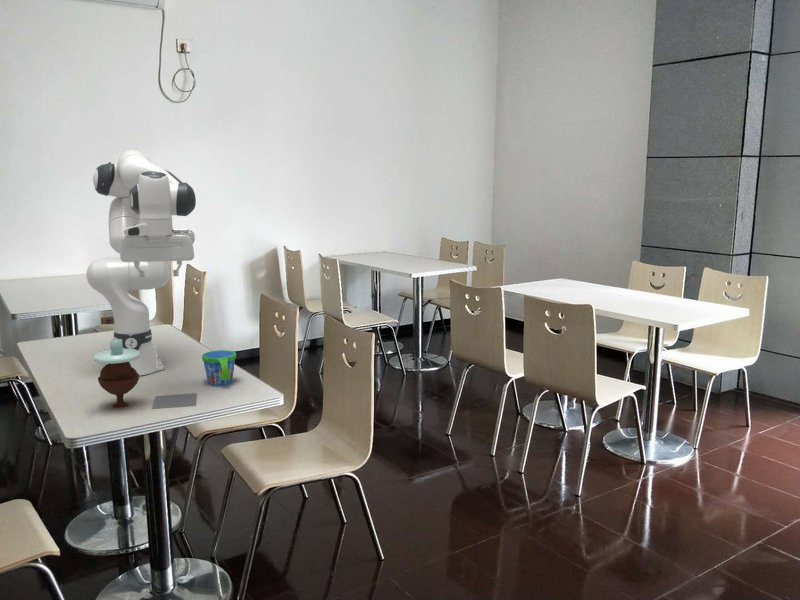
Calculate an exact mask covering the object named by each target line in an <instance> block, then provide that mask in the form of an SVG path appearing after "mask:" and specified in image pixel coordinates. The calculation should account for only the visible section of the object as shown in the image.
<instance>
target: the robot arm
mask: <svg viewBox="0 0 800 600" xmlns="http://www.w3.org/2000/svg"><path fill="white" fill-rule="evenodd" d="M118 157H119V158H118V160H117V164H115V163H112V161H109V162H107V163H104V164H100V165H99V166H98V167H96V169H95V171H94V173H93V175H92V183H93V187H94V189H95V191H96V192H97V194H100V195H102V196H105V197H108V196H110V197H113V198H114V199H113V200H112V201H111V203H110V204H109V205H110V206H109V212H108V236H109V237H108V238H109V242H108V243H109V245H110V247H111V248H112V250H114V252H116V253H118V254H119V257H110V258H109V257H105V258H101V259H97V260H93V261H92V262H90V264H89V266H88V267H87V269H86V279H87V282H88V284H89V286H90V287H91V288H92V289H93V290H95V291H96V292H98V293H99V294H101V296H103V297H104V299H106V300H107V302H108V303H109V305H110V308H111V311H112V316H113V323H114V331H113V339H122V346H123V349H135V350H138V351H139V353H140V357H139V358H138V359H136V360H133V361H129V363H130V364H131V367H132V368H134V369H135V370H136V372H137V373H138V374H139V377H140V376H144V375H149V374H153V373H155V372H159V371H160V372H161V371H163V370H165V366H164V364H163V362H162V360H161V358H160V357H159V354H157V353H158V351H157V346H156V344H154V343H153V341H152V340H153V338H152V337H153V333H152V329H151V325H150V311H149V308H148V305H146V304H145V303H144V302H142V301H140V300H138V299H135V298H133V297H131V296H130V295H129V294H128V292H130V291H143V290H146V291H147V290H154V289H157V288H162V287H165V286H166V285H167V284H168V282H169V280H170V276H171V271H170V267H169V265H168V262H176V265H178V266H177V268H176V269H173V270H172V273H173V274H172V276H173V277H179V276H180V274H179V270H180V269H181V267H182V265H183V262H184V261H186V262H187V261H192V260H194V259H195V250H194V243H195V239H196V238H195V232H194V231H193V230H190V229H189V228H174V227H173V216H177V217H187V216H189V215H190V214H191V213H192V212H193V211H194V210H195V208H196V201H197V199H196V194H195V193H196V192H195V191H194V188H193V187H192V186H191V185H190V184H189V183H187V182H183V181H181V179H179V178H178V177H177V176H175V174H173V173H172V172H170V170H167V169H165V168H162V167H160V166H159V165H156V164H155V163H153V162H152V161H151V160H150V159H149V157H148V156H147V155H145V154H144V153H143V152H141V151H140V150H136V149H128V150H125V151H124V152H122V153H121V154H120V156H118Z"/></svg>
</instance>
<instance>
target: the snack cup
mask: <svg viewBox="0 0 800 600" xmlns="http://www.w3.org/2000/svg"><path fill="white" fill-rule="evenodd" d="M236 358H237V353H236V352H235V351H233V350H225V349H224V350H223V349H222V350H221V349H217V350H211V351H207V352H204V353H203V354H202V355H201V359H202V362H203V365H204V366H203V367H204V370H205V374H206V381H207V384H208V385H209V386H213V387H221V386H226V385H230V384H232V383H233V381H234V373H235V372H234V371H235V361H236Z"/></svg>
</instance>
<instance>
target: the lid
mask: <svg viewBox="0 0 800 600" xmlns="http://www.w3.org/2000/svg"><path fill="white" fill-rule="evenodd" d="M109 346H110V349H107V350H103V351H98V352H95V354H94V355H93V361H94V362H95V363H97V364H98V363H99V364H105V365H107V364H114V363H124V362H129V361H133V360H136V359H138V358H139V357H140V353H139V351H138V350H135V349H123V346H122V339H114V338H113V339H110V340H109Z"/></svg>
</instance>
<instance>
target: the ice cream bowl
mask: <svg viewBox="0 0 800 600" xmlns="http://www.w3.org/2000/svg"><path fill="white" fill-rule="evenodd" d="M139 378H140V376H139V374H138V373H137V372H136V370H135V369H134V368H132V367H131V364H130V363H129V362H124V363H114V364H105V365H104V366H103V367H102V368H101V370H100V373H99V376H98V377H97V380H98V384H99V385H100V387H101V388H102V389H103V390H104V391H105V392H107V393H109V394H111V395H114V396H116V402H115V403H114V404H112V405H111V407H112V408H113V409H114V408H115V409H123V408H126V407H129V405H130V403H128V402H126V401H124V396H125V394H128V393H129V392H130V391H132V390H133V389H134V388H135V387H136V386H137V384H138V383H139V380H140V379H139Z"/></svg>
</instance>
